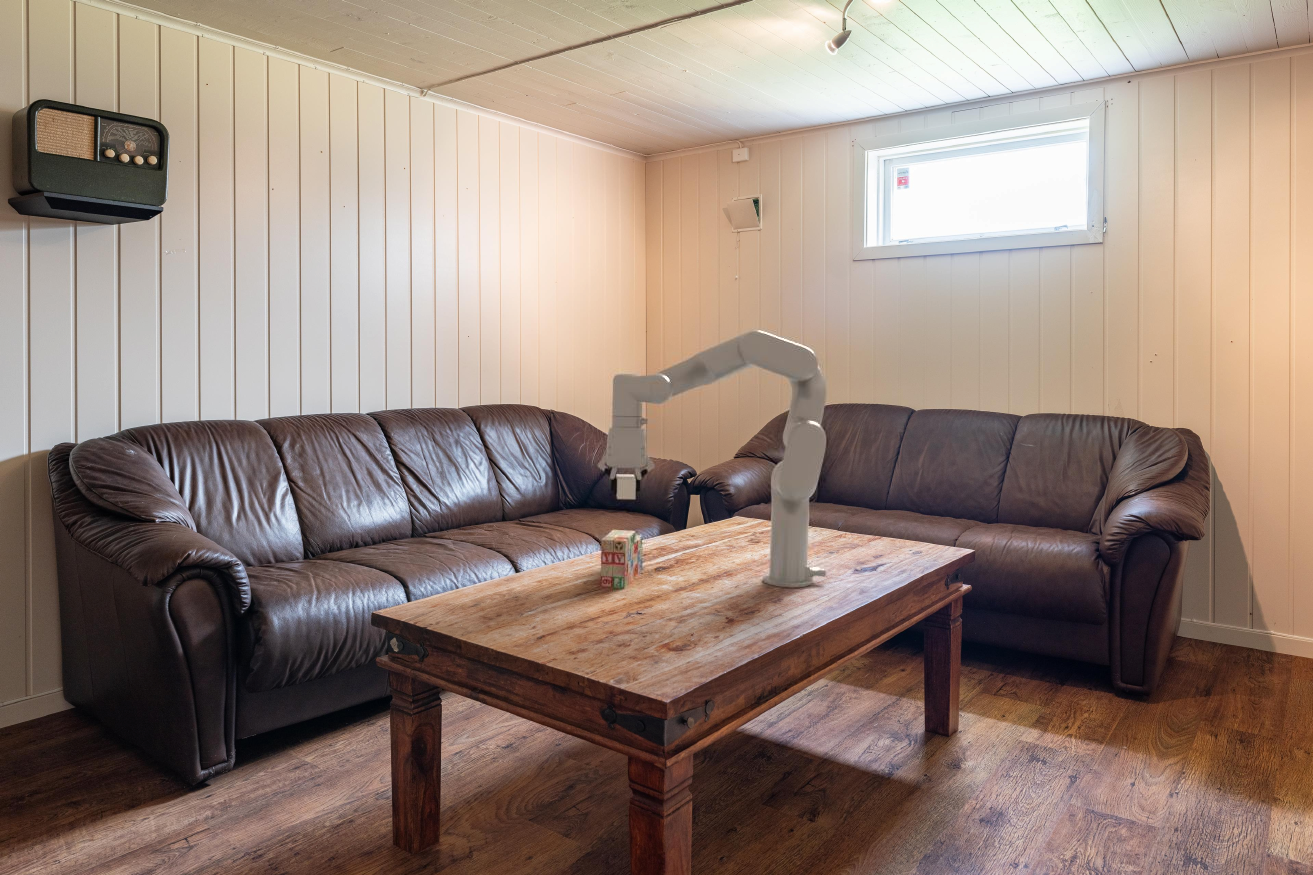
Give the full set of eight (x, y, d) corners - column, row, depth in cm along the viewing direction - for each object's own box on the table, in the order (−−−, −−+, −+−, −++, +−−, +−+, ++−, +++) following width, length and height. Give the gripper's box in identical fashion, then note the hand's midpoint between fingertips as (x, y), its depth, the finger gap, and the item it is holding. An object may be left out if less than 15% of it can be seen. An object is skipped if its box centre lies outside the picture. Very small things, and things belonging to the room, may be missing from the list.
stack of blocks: (619, 567, 236) (620, 522, 235) (642, 569, 235) (643, 524, 233) (600, 587, 215) (601, 538, 214) (625, 589, 214) (625, 540, 212)
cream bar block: (633, 493, 226) (633, 474, 226) (635, 499, 217) (635, 479, 217) (616, 493, 226) (616, 474, 225) (617, 499, 217) (617, 479, 216)
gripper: (660, 422, 224) (658, 492, 225) (594, 421, 223) (593, 491, 225) (660, 424, 216) (659, 497, 218) (592, 423, 216) (591, 496, 218)
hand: (625, 493), depth 221 cm, fingers closed on cream bar block, 4 cm apart
